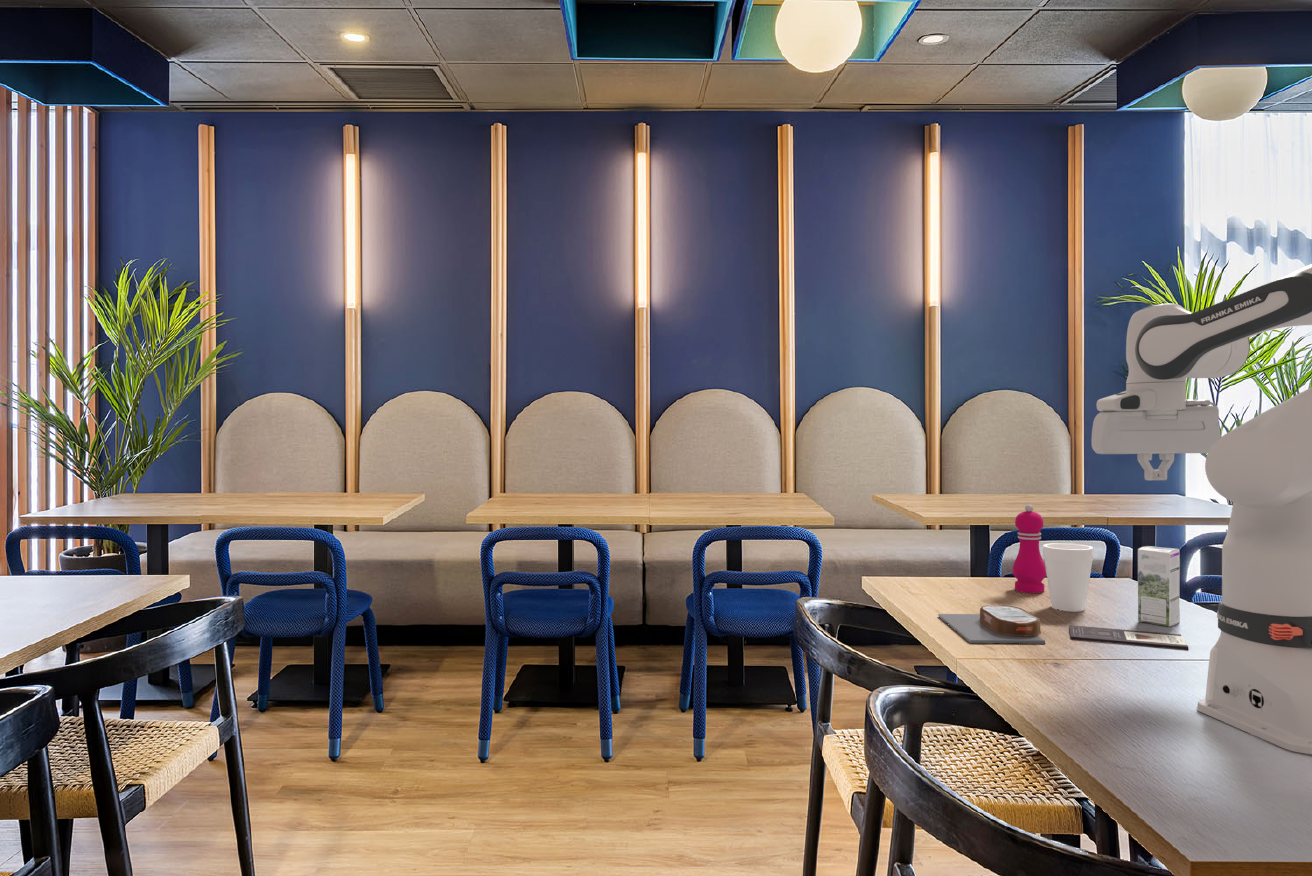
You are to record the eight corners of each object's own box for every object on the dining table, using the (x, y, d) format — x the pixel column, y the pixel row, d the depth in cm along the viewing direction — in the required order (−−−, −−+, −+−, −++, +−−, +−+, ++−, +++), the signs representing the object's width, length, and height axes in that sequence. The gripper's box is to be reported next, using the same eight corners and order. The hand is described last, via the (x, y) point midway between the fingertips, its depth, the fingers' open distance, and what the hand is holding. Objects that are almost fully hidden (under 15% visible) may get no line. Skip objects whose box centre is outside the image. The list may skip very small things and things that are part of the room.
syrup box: (1180, 622, 159) (1180, 548, 159) (1169, 627, 156) (1169, 551, 155) (1148, 617, 164) (1148, 544, 163) (1136, 622, 160) (1136, 548, 160)
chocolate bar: (1069, 625, 156) (1180, 634, 149) (1069, 630, 156) (1180, 639, 149) (1070, 636, 148) (1188, 647, 141) (1070, 641, 148) (1188, 652, 141)
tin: (1015, 617, 163) (972, 619, 163) (1014, 601, 163) (971, 604, 163) (1049, 637, 148) (1001, 640, 148) (1048, 619, 148) (1000, 622, 148)
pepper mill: (1006, 588, 193) (1005, 503, 193) (1033, 586, 195) (1033, 502, 194) (1025, 594, 186) (1024, 506, 186) (1053, 592, 187) (1053, 505, 187)
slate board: (1045, 644, 145) (1045, 640, 145) (970, 643, 146) (970, 640, 146) (1004, 617, 165) (1004, 614, 165) (938, 616, 166) (938, 614, 166)
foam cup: (1098, 614, 167) (1098, 550, 166) (1048, 612, 169) (1048, 549, 169) (1086, 604, 176) (1086, 543, 176) (1039, 602, 178) (1039, 542, 178)
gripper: (1206, 399, 144) (1207, 478, 144) (1087, 401, 145) (1087, 479, 146) (1229, 398, 138) (1229, 481, 138) (1104, 400, 139) (1104, 482, 139)
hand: (1155, 480), depth 142 cm, fingers closed
